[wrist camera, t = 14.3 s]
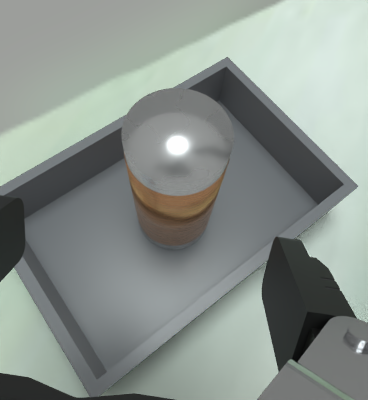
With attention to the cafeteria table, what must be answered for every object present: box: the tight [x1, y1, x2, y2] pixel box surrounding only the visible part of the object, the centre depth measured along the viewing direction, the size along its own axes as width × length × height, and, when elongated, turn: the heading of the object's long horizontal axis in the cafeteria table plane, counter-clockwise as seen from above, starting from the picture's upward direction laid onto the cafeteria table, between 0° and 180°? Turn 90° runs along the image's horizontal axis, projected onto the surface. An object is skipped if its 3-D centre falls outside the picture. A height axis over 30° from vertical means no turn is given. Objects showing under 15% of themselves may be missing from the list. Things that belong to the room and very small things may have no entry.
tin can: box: [121, 88, 234, 250], centre depth 25 cm, size 6×6×13 cm
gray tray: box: [0, 57, 358, 397], centre depth 29 cm, size 24×16×6 cm, turn 127°
